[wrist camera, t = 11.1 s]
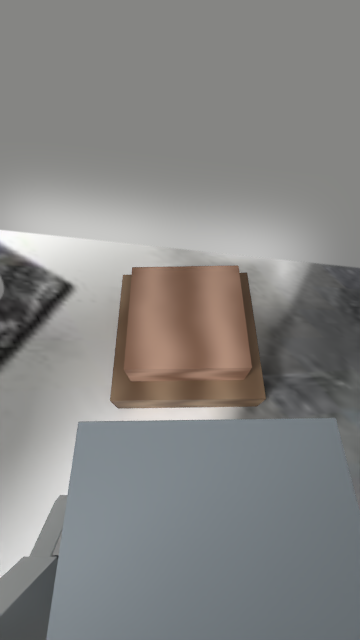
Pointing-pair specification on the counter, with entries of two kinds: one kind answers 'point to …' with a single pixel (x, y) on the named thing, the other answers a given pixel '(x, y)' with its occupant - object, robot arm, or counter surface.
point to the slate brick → (208, 533)
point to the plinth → (186, 388)
